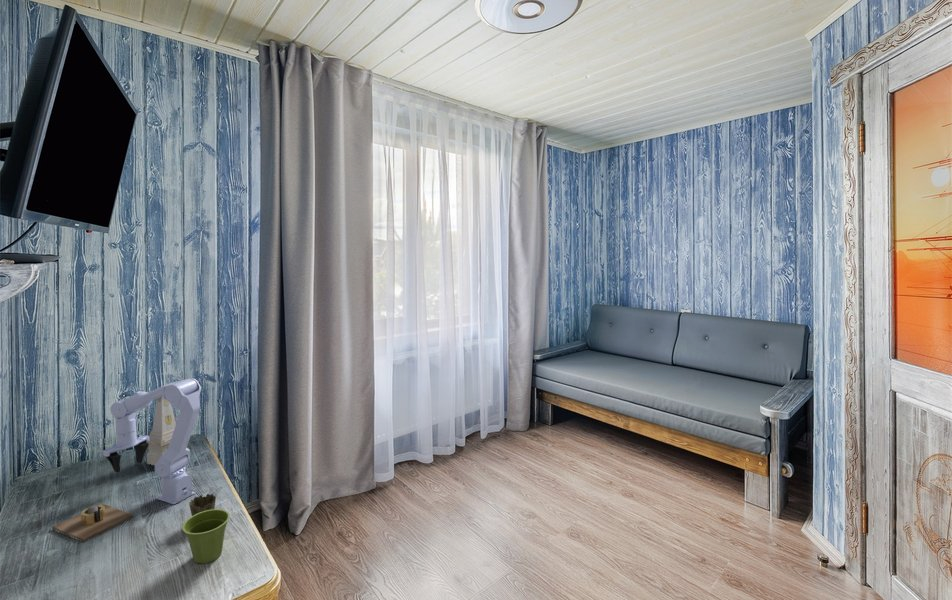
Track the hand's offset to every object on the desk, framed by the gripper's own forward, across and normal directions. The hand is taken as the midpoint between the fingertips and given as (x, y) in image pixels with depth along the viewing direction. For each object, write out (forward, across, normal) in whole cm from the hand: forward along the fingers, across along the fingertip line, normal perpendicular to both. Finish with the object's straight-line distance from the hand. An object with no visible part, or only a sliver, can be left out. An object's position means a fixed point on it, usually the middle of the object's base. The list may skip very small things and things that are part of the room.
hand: (128, 466), depth 162 cm
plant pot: (+10, +14, +58) cm, 60 cm away
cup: (+10, +3, +42) cm, 43 cm away
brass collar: (+8, +17, +10) cm, 21 cm away
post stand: (+9, +17, +10) cm, 22 cm away
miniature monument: (+10, -21, -11) cm, 26 cm away
